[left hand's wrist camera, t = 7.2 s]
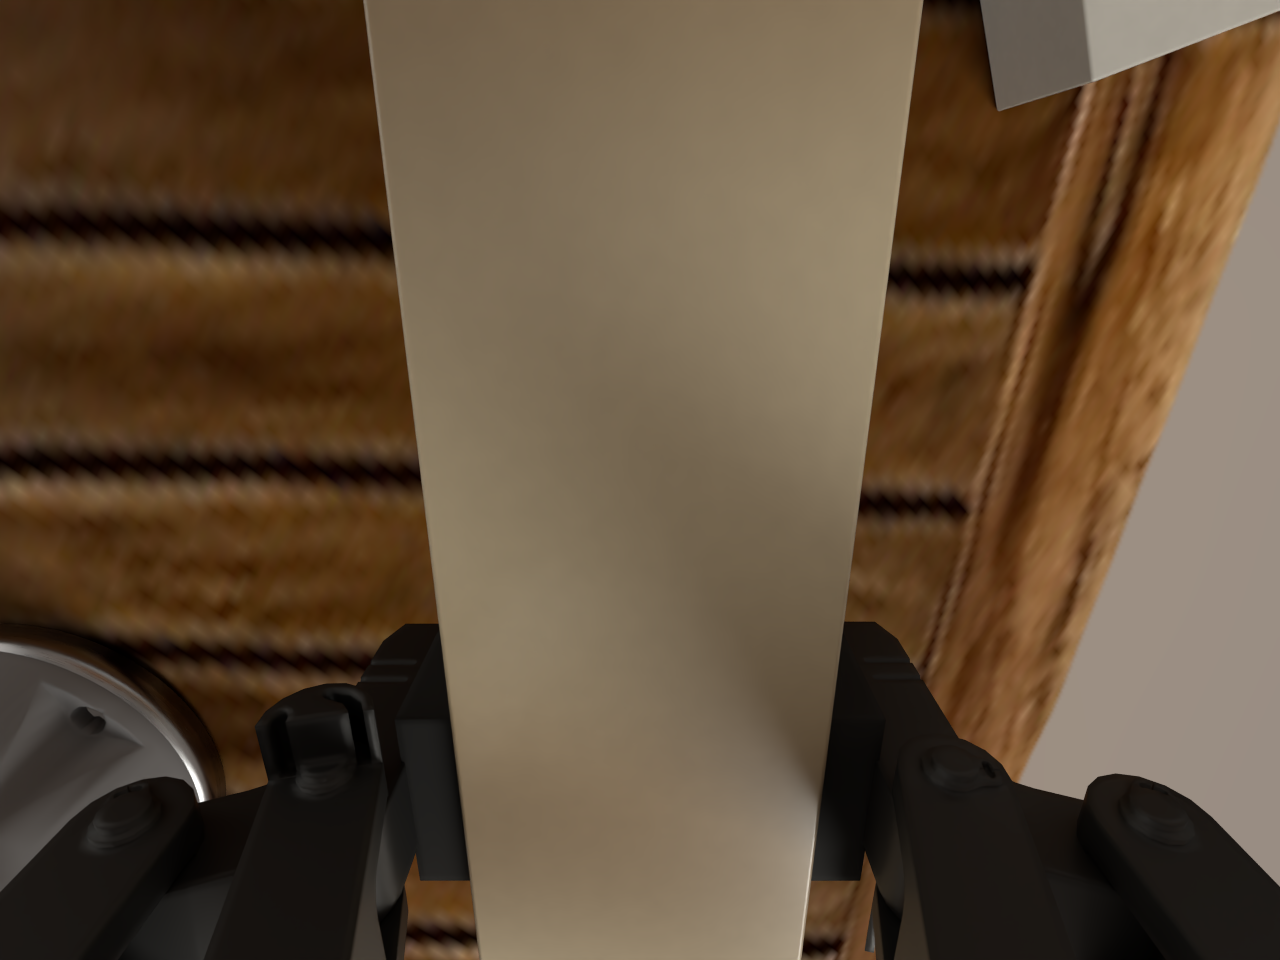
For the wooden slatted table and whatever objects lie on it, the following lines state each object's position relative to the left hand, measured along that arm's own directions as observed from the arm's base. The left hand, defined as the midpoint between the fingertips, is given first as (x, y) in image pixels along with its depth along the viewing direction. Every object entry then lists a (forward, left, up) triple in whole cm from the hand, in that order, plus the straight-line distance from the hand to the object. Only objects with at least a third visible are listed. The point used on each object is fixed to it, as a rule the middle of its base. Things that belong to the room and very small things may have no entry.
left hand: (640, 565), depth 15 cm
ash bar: (0, +10, 0) cm, 10 cm away
